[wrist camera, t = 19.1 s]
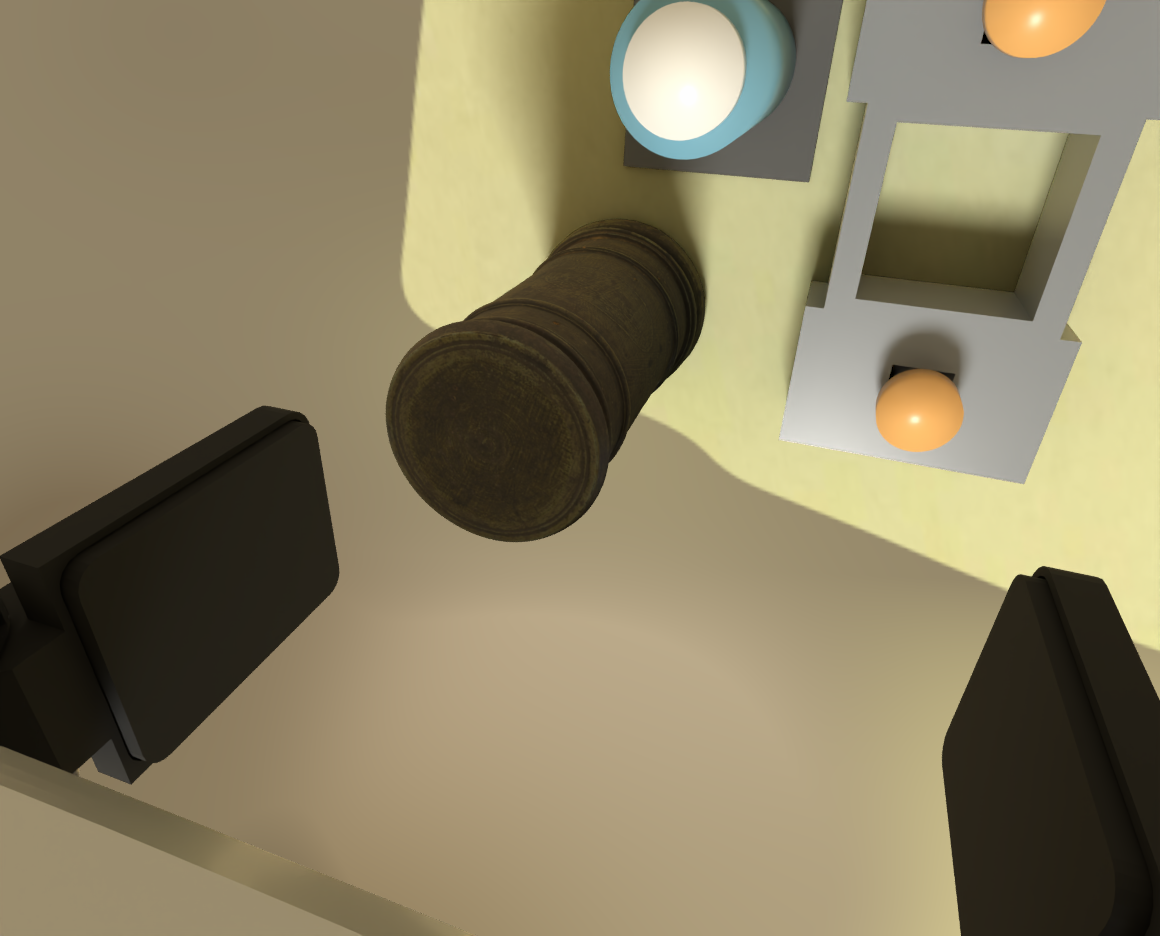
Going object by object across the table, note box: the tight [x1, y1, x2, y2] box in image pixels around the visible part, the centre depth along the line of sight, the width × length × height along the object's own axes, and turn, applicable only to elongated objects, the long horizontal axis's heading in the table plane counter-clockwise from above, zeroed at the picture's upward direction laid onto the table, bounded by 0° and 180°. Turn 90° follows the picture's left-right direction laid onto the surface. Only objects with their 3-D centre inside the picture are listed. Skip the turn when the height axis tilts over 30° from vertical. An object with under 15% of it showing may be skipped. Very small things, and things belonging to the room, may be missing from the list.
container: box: [386, 219, 705, 542], centre depth 32 cm, size 9×9×18 cm
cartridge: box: [610, 0, 796, 160], centre depth 28 cm, size 5×5×11 cm
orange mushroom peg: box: [875, 365, 964, 452], centre depth 33 cm, size 3×3×6 cm
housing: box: [779, 0, 1160, 484], centre depth 31 cm, size 11×22×4 cm, turn 178°
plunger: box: [982, 0, 1106, 58], centre depth 26 cm, size 3×3×6 cm
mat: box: [624, 0, 843, 182], centre depth 33 cm, size 9×9×1 cm
